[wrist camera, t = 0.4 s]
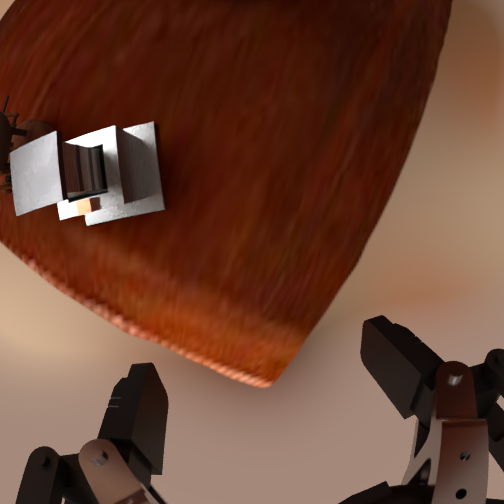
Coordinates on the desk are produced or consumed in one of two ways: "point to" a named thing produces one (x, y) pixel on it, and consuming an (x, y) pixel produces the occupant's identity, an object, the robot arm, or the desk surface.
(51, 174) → the column
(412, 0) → the desk surface
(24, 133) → the brown piece
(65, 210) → the stand
